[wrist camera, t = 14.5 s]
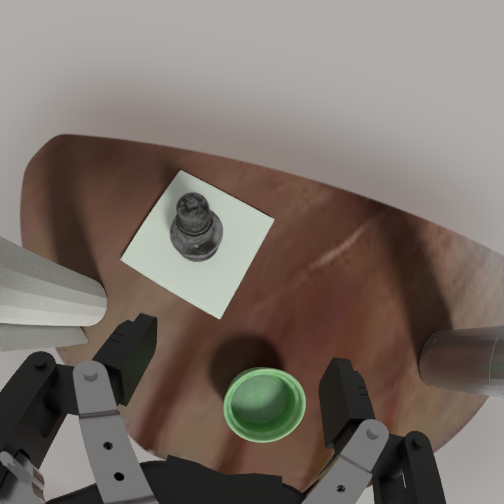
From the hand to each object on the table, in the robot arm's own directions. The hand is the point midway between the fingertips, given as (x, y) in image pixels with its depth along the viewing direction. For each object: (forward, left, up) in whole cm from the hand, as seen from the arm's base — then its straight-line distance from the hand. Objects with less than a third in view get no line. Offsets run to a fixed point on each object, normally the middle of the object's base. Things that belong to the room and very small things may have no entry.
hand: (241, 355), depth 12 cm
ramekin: (-7, +5, -21) cm, 23 cm away
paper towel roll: (+17, +6, -21) cm, 28 cm away
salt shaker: (+8, -8, -20) cm, 23 cm away
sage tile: (+8, -8, -21) cm, 24 cm away
